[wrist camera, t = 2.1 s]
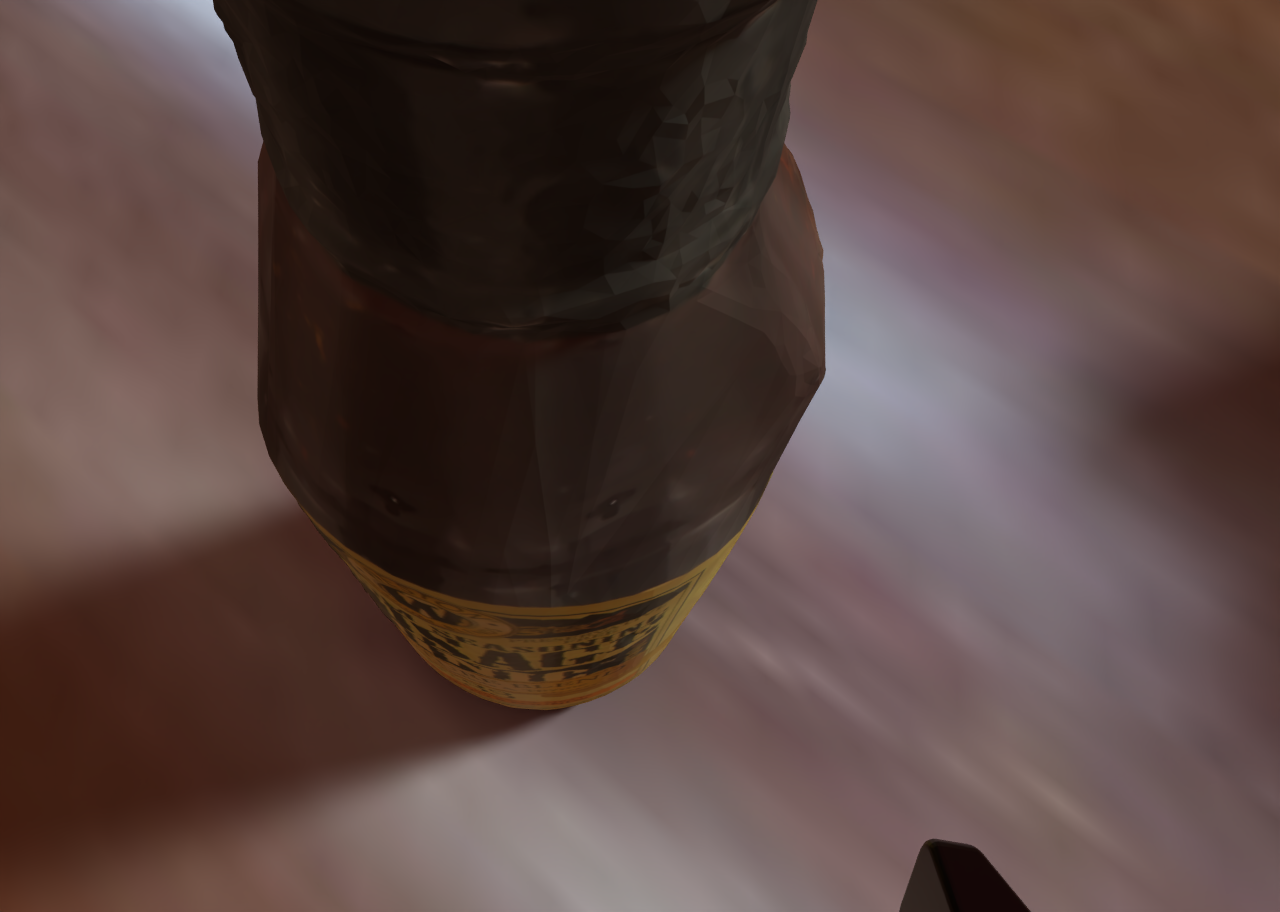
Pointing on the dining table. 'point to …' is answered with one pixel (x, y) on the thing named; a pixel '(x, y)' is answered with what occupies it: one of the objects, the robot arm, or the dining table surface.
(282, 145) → the sauce bottle
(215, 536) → the dining table surface
